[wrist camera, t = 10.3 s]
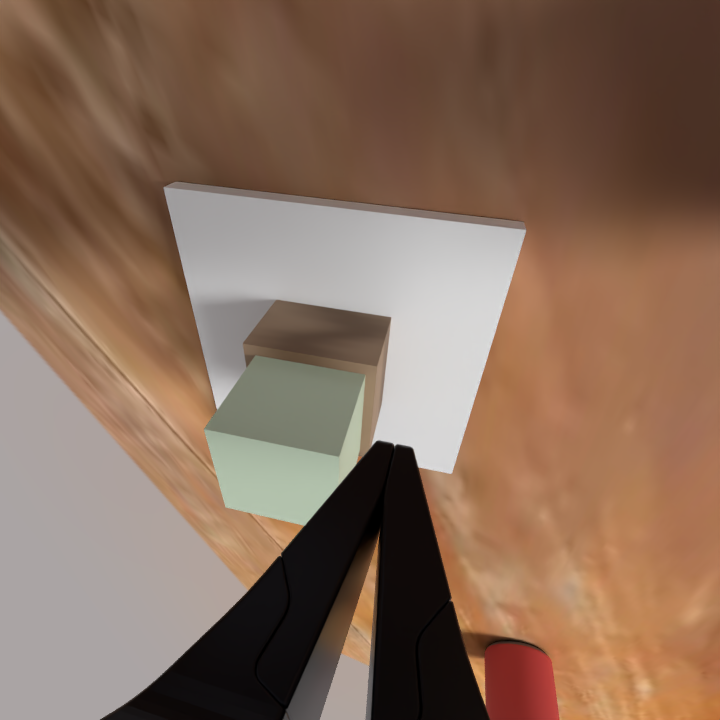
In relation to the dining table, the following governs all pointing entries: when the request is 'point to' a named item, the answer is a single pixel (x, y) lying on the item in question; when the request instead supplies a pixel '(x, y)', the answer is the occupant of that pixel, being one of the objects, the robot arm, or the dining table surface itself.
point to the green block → (286, 437)
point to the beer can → (519, 683)
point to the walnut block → (328, 347)
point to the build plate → (354, 292)
